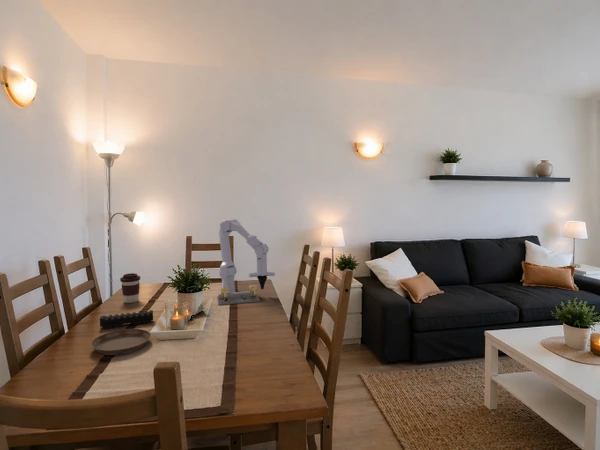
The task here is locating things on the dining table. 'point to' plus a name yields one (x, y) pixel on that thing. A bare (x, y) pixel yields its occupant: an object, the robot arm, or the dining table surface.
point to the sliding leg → (253, 290)
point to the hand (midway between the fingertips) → (262, 288)
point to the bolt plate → (237, 300)
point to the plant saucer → (121, 341)
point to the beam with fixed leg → (232, 294)
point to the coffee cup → (130, 287)
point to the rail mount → (126, 319)
